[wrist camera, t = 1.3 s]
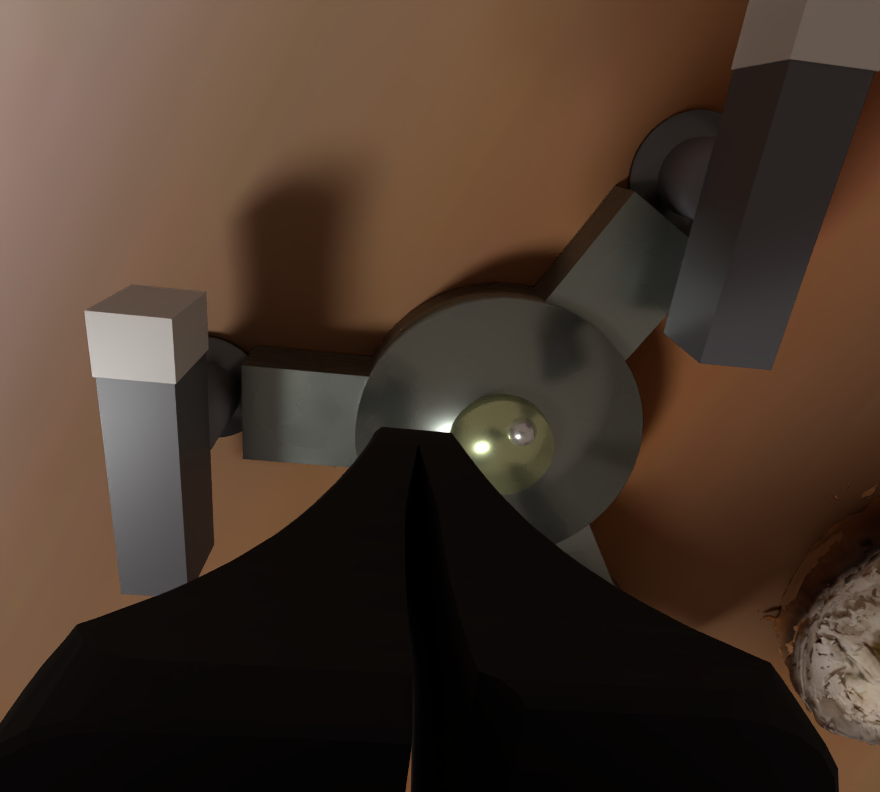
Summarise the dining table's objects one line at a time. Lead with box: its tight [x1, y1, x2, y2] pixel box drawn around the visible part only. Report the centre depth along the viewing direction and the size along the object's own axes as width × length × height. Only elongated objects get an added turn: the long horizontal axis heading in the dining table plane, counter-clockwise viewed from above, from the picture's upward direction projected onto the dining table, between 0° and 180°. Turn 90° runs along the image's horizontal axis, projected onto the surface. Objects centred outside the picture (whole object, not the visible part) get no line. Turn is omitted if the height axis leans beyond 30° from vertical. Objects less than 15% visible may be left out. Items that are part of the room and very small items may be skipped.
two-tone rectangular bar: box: [658, 0, 880, 370], centre depth 16 cm, size 8×2×5 cm, turn 174°
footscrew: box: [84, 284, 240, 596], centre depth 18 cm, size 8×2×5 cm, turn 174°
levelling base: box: [206, 110, 722, 589], centre depth 20 cm, size 20×18×3 cm
